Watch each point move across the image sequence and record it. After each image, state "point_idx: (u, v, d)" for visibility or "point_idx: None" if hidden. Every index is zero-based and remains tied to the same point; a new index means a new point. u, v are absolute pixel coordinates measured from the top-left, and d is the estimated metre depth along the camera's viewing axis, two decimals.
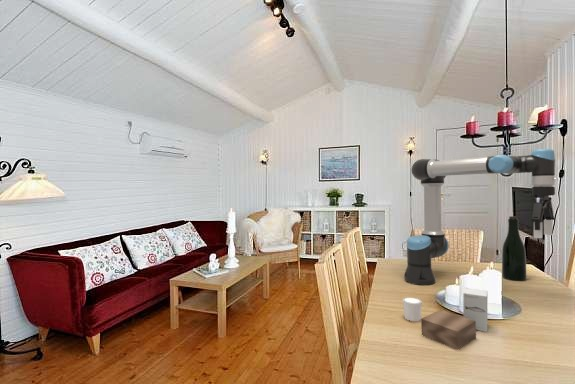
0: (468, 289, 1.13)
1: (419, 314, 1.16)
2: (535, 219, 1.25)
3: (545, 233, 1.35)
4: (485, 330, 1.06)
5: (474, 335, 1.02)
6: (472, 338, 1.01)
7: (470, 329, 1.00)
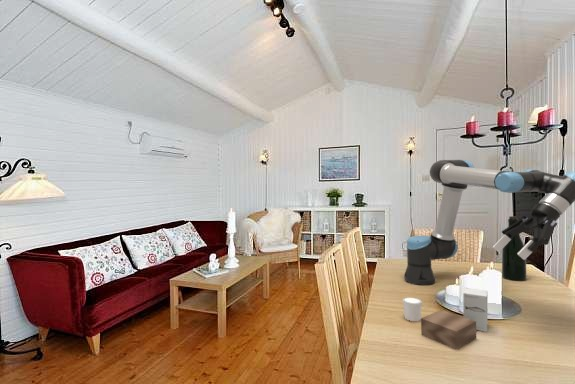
0: (468, 289, 1.12)
1: (419, 314, 1.16)
2: (544, 241, 1.00)
3: (495, 247, 1.17)
4: (485, 330, 1.06)
5: (474, 335, 1.01)
6: (472, 338, 1.01)
7: (470, 329, 1.00)
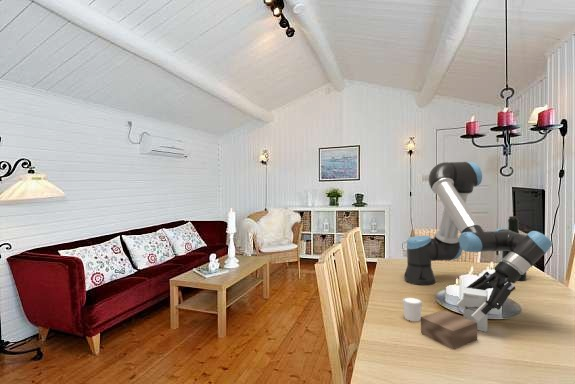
0: (468, 289, 1.13)
1: (419, 314, 1.16)
2: (497, 306, 1.02)
3: (459, 304, 1.16)
4: (485, 330, 1.06)
5: (475, 337, 1.00)
6: (472, 340, 1.00)
7: (469, 330, 0.99)
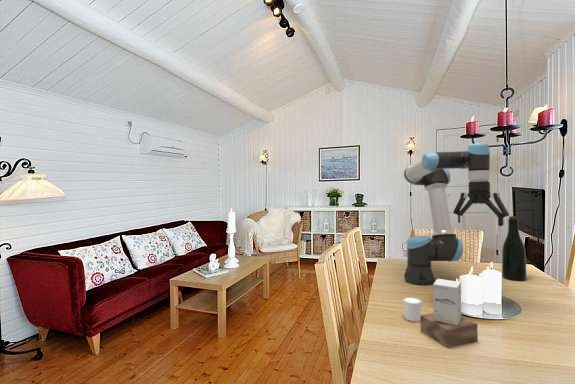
0: (440, 280, 1.05)
1: (419, 314, 1.16)
2: (507, 214, 1.20)
3: (462, 229, 1.33)
4: (455, 324, 0.99)
5: (474, 338, 1.00)
6: (471, 340, 0.99)
7: (468, 331, 0.99)
